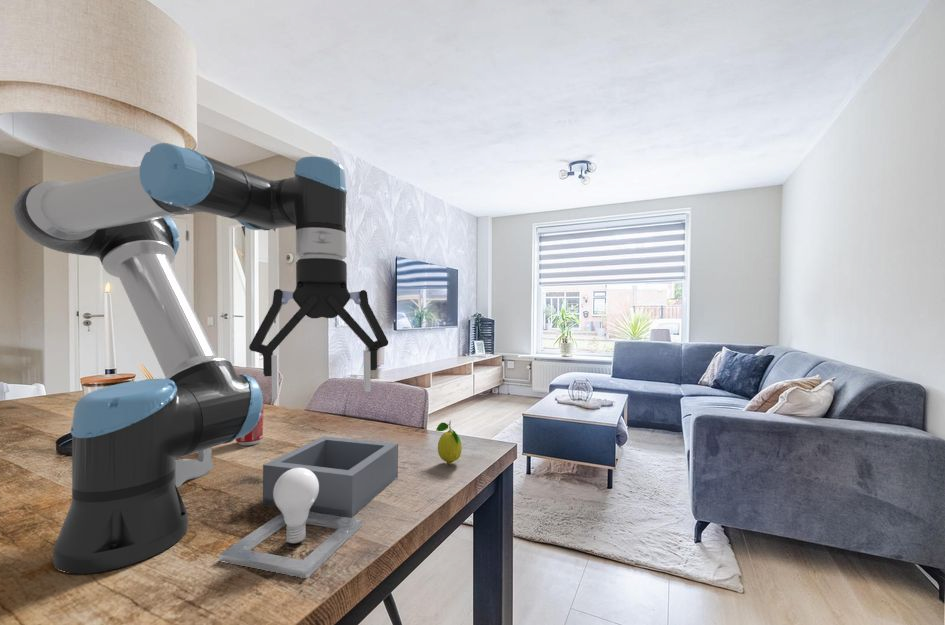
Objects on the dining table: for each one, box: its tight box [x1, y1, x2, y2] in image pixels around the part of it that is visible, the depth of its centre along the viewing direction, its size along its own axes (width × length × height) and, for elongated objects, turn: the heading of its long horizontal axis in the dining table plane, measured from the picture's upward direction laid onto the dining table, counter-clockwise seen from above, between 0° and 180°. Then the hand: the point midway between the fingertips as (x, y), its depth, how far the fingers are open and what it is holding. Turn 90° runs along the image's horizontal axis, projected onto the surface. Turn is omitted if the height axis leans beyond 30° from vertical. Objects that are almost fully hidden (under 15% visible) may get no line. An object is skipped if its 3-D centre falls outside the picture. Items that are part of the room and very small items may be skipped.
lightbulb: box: [273, 468, 319, 545], centre depth 62 cm, size 6×6×11 cm
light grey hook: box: [175, 447, 215, 489], centre depth 85 cm, size 6×1×10 cm
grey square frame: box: [218, 511, 363, 579], centre depth 62 cm, size 14×14×1 cm
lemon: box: [435, 420, 463, 465], centre depth 95 cm, size 7×6×10 cm
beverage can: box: [235, 401, 265, 447], centre depth 109 cm, size 6×6×12 cm
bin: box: [262, 435, 399, 518], centre depth 81 cm, size 18×18×7 cm
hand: (323, 394), depth 65 cm, fingers open, 13 cm apart
